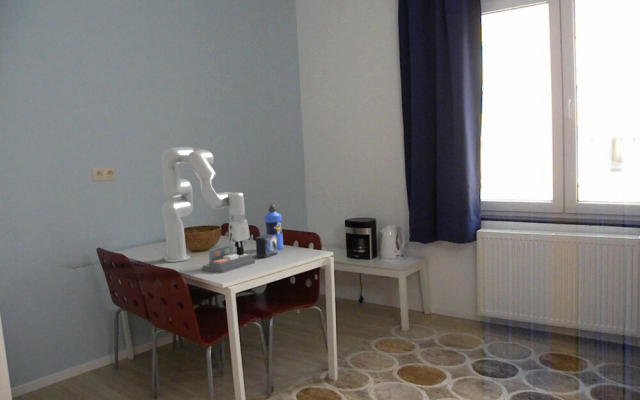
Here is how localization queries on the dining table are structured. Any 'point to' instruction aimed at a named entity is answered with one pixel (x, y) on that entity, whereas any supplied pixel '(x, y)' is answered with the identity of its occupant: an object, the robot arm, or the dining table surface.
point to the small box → (266, 246)
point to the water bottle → (274, 225)
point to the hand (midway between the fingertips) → (240, 254)
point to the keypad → (228, 265)
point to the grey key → (230, 256)
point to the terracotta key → (220, 260)
